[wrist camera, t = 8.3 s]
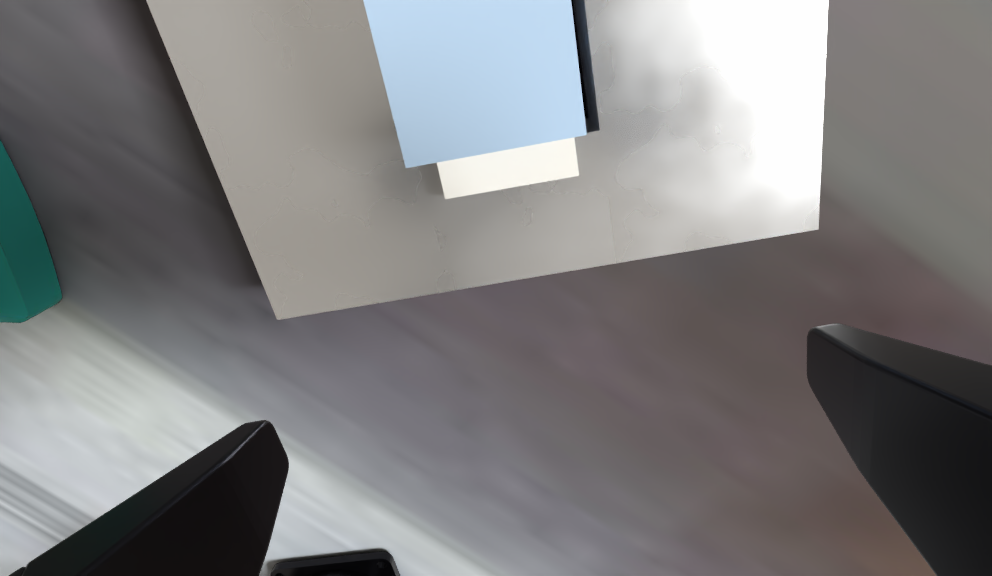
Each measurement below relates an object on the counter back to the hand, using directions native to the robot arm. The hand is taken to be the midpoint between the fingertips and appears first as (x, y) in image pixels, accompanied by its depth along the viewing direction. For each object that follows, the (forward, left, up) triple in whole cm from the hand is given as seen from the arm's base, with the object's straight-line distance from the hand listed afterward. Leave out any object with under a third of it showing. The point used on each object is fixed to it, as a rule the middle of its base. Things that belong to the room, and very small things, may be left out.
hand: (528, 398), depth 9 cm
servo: (0, +6, -12) cm, 14 cm away
